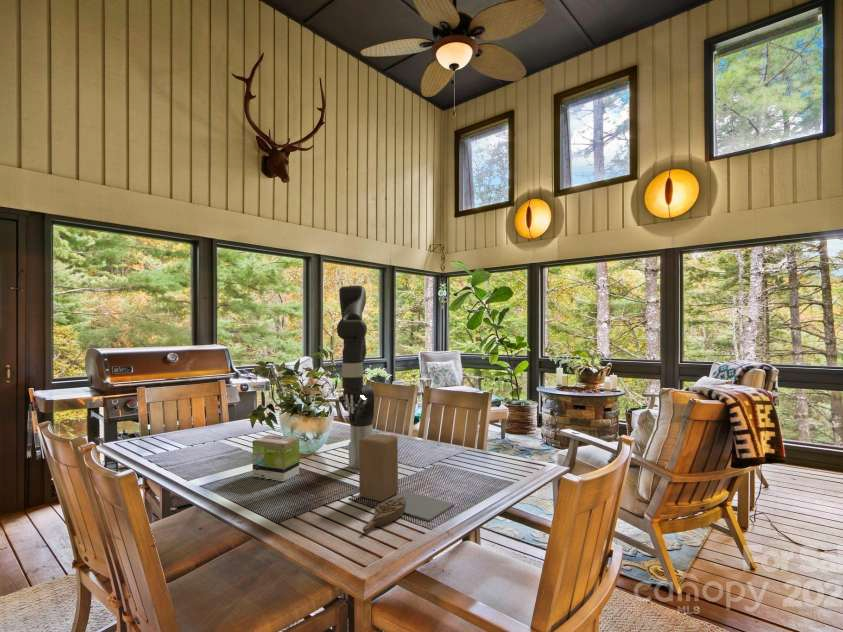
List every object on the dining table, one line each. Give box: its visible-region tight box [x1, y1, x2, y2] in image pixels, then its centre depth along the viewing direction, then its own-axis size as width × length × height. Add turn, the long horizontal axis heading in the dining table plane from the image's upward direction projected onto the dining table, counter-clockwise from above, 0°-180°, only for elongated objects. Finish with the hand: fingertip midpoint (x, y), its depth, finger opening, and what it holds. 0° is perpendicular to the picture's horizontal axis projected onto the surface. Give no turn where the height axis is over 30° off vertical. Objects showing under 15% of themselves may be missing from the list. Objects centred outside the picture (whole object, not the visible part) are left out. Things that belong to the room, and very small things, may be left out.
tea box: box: [252, 434, 300, 481], centre depth 176 cm, size 15×10×15 cm
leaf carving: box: [362, 497, 406, 533], centre depth 136 cm, size 7×22×3 cm, turn 154°
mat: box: [379, 490, 455, 522], centre depth 146 cm, size 20×14×1 cm
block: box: [358, 432, 399, 503], centre depth 155 cm, size 10×10×20 cm
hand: (353, 423), depth 163 cm, fingers closed
